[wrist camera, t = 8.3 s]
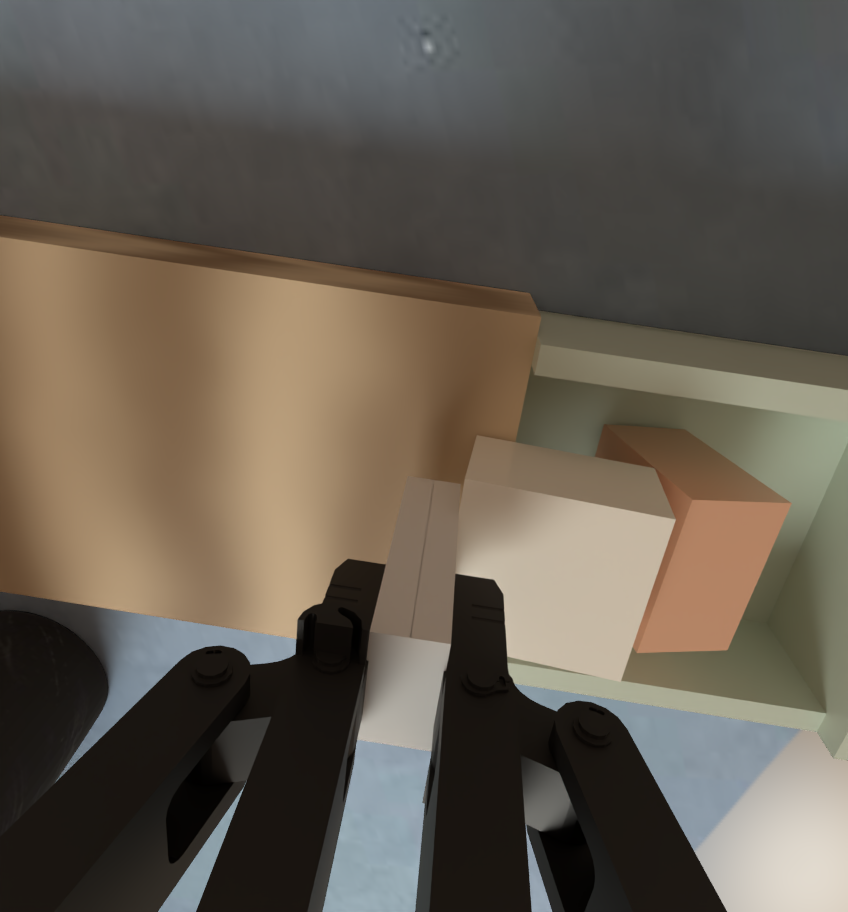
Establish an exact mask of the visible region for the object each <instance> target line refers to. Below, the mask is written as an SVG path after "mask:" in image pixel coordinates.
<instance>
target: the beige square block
mask: <svg viewBox="0 0 848 912" xmlns="http://www.w3.org/2000/svg"><path fill="white" fill-rule="evenodd" d="M458 516H459V519H458V536H457V552H456V569H455V574H461V575H467V576H474V577H480V578H487V579H493V580H495V582H496V583H497V585H498V587H499V588H500V590H501V591H502V593H503V595H504V612H505V628H506V644H507V657H511V658H516V659H520V660H525V661H529V662H534V663H538V664H543V665H547V666H551V667H556V668H560V669H565V670H569V671H574V672H578V673H583V674H587V675H591V676H596V677H600V678H605V679H609V680H614V681H618V682H621V679H622V676H623V673H624V670H625V668H626V665H627V662H628V659H629V656H630V653H631V650H632V647H633V644H634V641H635V638H636V635H637V632H638V629H639V626H640V623H641V621H642V618H643V615H644V612H645V609H646V606H647V603H648V600H649V597H650V594H651V591H652V588H653V585H654V582H655V579H656V576H657V574H658V571H659V568H660V565H661V562H662V559H663V556H664V553H665V550H666V547H667V544H668V541H669V538H670V535H671V532H672V530H673V527H674V524H675V521H676V519H675V516H674V514H673V512H672V509H671V507H670V504H669V502H668V499H667V497H666V495H665V492H664V490H663V487H662V485H661V482H660V480H659V478H658V475H657V473H656V470H655V468H651V467H645V466H640V465H635V464H629V463H624V462H618V461H613V460H608V459H602V458H597V457H592V456H586V455H581V454H576V453H570V452H565V451H560V450H554V449H549V448H543V447H538V446H533V445H527V444H522V443H517V442H511V441H506V440H501V439H495V438H490V437H484V436H479V435H477V436H476V440H475V444H474V447H473V451H472V455H471V458H470V462H469V465H468V469H467V473H466V476H465V481H464V486H463V492H462V498H461V504H460V509H459V515H458Z"/></svg>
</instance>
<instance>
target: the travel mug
mask: <svg viewBox="0 0 848 912" xmlns="http://www.w3.org/2000/svg"><path fill="white" fill-rule="evenodd" d="M107 693H108V685H107V679H106V675H105V672H104V670H103V667H102V665H101V663H100V662H99V660H98V658H97V657H96V655H95V654H94V653H93V651H92V650H91V649H90V648H89V647H88V646H87V645H86V644H85V643H84V642H83V641H82V640H81V639H80V638H79V637H78V636H76V635H75V634H74V633H72V632H71V631H69V630H68V629H67V628H65V627H63V626H61V625H60V624H58V623H56V622H54V621H51V620H49V619H47V618H44V617H41V616H38V615H35V614H31V613H27V612H20V611H0V836H1V835H2V834H3V833H5V832H6V831H7V830H8V829H9V828H10V827H11V826H12V825H13V824H14V823H15V822H16V821H17V820H18V819H19V818H20V817H21V816H22V815H23V814H24V813H25V812H26V811H27V810H28V809H29V808H30V807H31V806H32V805H33V804H34V803H35V802H36V801H37V800H38V799H39V798H40V797H41V796H42V795H43V794H44V793H45V792H46V791H47V790H48V789H49V788H50V787H51V786H52V785H54V783H55V782H56V780H57V779H58V777H59V776H60V774H61V773H62V771H63V770H64V768H65V767H66V765H67V764H68V762H69V761H70V759H71V758H72V756H73V755H74V753H75V752H76V750H77V749H78V747H79V746H80V744H81V743H82V741H83V740H84V738H85V737H86V735H87V734H88V732H89V730H90V729H91V727H92V726H93V724H94V723H95V721H96V720H97V718H98V717H99V715H100V713H101V711H102V710H103V707H104V705H105V702H106V699H107Z"/></svg>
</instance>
